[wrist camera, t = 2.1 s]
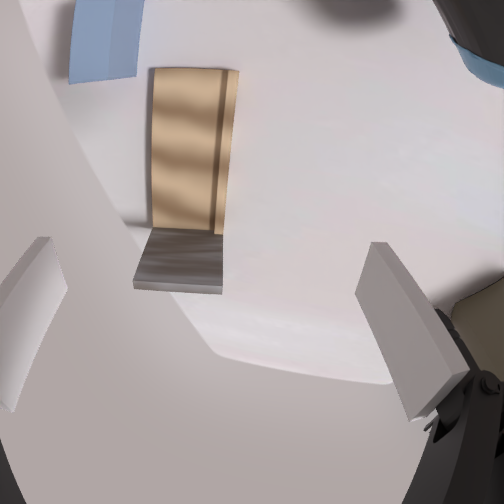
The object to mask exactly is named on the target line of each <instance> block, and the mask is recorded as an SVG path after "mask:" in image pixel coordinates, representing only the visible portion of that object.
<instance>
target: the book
mask: <svg viewBox="0 0 504 504" xmlns="http://www.w3.org/2000/svg"><path fill="white" fill-rule="evenodd" d="M451 322H452V324H453V325H454V327H455V330H457V332H458V333H459V335H460V336H461V337H460V338H461V339H462V340H463V341H464V343H465V345H466V346H467V348H468V350H469V351H470V353H471V355H472V356H473V358H474V360H475V362H476V363H477V365H478V367H479V369H480V370H481V371H482V370H486V371H490V372H492V373H493V374H495V375H496V376H497V378H498V379H499V380H500V381H504V277H503V278H502V279H501V280H499V281H498V282H496V283H494V284H493V285H491V286H489V287H487V288H485V289H484V290H482V291H480V292H478V293H476V294H474V295H472V296H470V297H468V298H465V299H463V300H461V301H459V302H457V303H456V304H455V306H454V309H453V311H452V316H451Z"/></svg>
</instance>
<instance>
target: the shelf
mask: <svg viewBox="0 0 504 504" xmlns="http://www.w3.org/2000/svg"><path fill="white" fill-rule="evenodd" d="M238 77H239V71H232V70H217V69H195V68H155V75H154V90H153V110H152V149H151V174H152V213H153V229H152V231H151V234H150V236H149V239H148V241H147V244H146V246H145V249H144V251H143V254H142V257H141V259H140V262H139V265H138V267H137V270H136V273H135V276H134V278H133V286H134V289H142V290H156V291H169V292H185V293H202V294H221V295H222V288H223V229H224V217H225V205H226V194H227V182H228V172H229V161H230V151H231V141H232V131H233V122H234V113H235V103H236V95H237V86H238Z"/></svg>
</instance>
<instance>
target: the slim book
mask: <svg viewBox="0 0 504 504" xmlns="http://www.w3.org/2000/svg"><path fill="white" fill-rule="evenodd" d="M143 7H144V0H76V5H75V12H74V19H73V27H72V37H71V48H70V64H69V84H76V83H84V82H93V81H103V80H112V79H120V78H128V77H136V75H137V61H138V49H139V39H140V30H141V22H142V14H143Z"/></svg>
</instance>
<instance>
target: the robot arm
mask: <svg viewBox="0 0 504 504" xmlns="http://www.w3.org/2000/svg"><path fill="white" fill-rule="evenodd" d="M433 2H434V4H435V6H436V7H437V9H438V11H439V13H440V15H441V17H442V19H443V21H444V23H445V25H446V27H447V29H448V31H449V36H450V38H451V40H452V42H453V43H454V44H455V45H456V47H457V49H458V51H459V53H460V55H461V57H462V59H463V62H464V64H465V65H466V67H467V68H468V70H469V71H470V72H471V73H473V74H474V75H476V77H477V78H479V79H480V80H482V81H484V82H486V83H488V84H491V85H493V86H496V87H499V88H503V89H504V0H433ZM67 290H68V287H67V285H66V282H65V279H64V276H63V273H62V270H61V267H60V264H59V261H58V257H57V254H56V251H55V247H54V244H53V241H52V237H37V239H36V240H35V241H34V242H33V243H32V245H31V246H30V247H29V248H28V250H27V251H26V252H25V253H24V255H23V256H22V257H21V258H20V259H19V261H18V262H17V263H16V265H15V266H14V267H13V269H12V270H11V271H10V273H9V274H8V275H7V277H6V278H5V279H4V281H3V282H2V284H1V285H0V408H1V409H3V410H6V411H9V412H12V413H13V412H14V410H15V407H16V404H17V401H18V398H19V396H20V392H21V390H22V387H23V385H24V382H25V380H26V377H27V375H28V372H29V370H30V367H31V365H32V362H33V360H34V358H35V355H36V353H37V351H38V348H39V346H40V344H41V342H42V340H43V337H44V335H45V333H46V331H47V329H48V327H49V325H50V323H51V320H52V319H53V317H54V315H55V312H56V311H57V308H58V307H59V305H60V303H61V301H62V299H63V297H64V295H65V293H66V291H67ZM355 295H356V297H357V299H358V302H359V304H360V306H361V308H362V310H363V312H364V314H365V317H366V319H367V321H368V323H369V325H370V328H371V330H372V332H373V334H374V337H375V339H376V341H377V343H378V346H379V348H380V350H381V353H382V355H383V357H384V360H385V362H386V364H387V367H388V369H389V372H390V374H391V376H392V379H393V381H394V384H395V386H396V389H397V391H398V394H399V396H400V399H401V402H402V404H403V407H404V409H405V412H406V415H407V417H408V420H409V422H411V421H415V420H418V419H422V418H425V417H427V416H428V415H429V414H430V413H431V412H432V411H433V410H434V409H435V408H436V410H437V412H438V415H437V416H436V417H435V418H434V419H433V420H432V421H431V422H430V423H429V424H427V425H426V427H425V428H424V431H427V430H428V429H429V428H430V427H431V426H432V428H431V431H430V432H429V433H430V435H429V438H428V441H427V443H426V446H425V449H424V452H423V455H422V457H421V460H420V463H419V465H418V468H417V470H416V473H415V475H414V478H413V480H412V482H411V485H410V487H409V489H408V491H407V493H406V496H405V498H404V500H403V502H402V504H504V381H500V380H499V379H498V378H497V376H496V375H495V374H493V373H492V372H490V371H486V370H482V371H481V370H480V369H479V367H478V365H477V363H476V362H475V360H474V358H473V356H472V355H471V353H470V351H469V350H468V348H467V346H466V345H465V343H464V341H463V340H462V339H461V338H460V337H461V336H460V335H459V333H458V332H457V330H455V327H454V325H453V324H452V322H451V321H450V319H449V318H448V317H447V316H446V315H445V314H444V313H443V312H442V311H441V310H439V309H434V308H433V307H432V305H431V304H430V302H429V301H428V299H427V298H426V296H425V295H424V293H423V292H422V290H421V289H420V287H419V286H418V284H417V283H416V282H415V280H414V279H413V277H412V276H411V274H410V273H409V272H408V270H407V269H406V267H405V266H404V265H403V263H402V262H401V261H400V259H399V258H398V256H397V255H396V254H395V252H394V251H393V250H392V248H391V247H390V246H389V244H388V243H387V242H371V245H370V248H369V252H368V255H367V258H366V261H365V264H364V268H363V271H362V274H361V277H360V280H359V283H358V286H357V288H356V291H355ZM0 504H26V502H25V500H24V498H23V496H22V493H21V491H20V489H19V487H18V485H17V482H16V480H15V478H14V475H13V473H12V470H11V468H10V465H9V462H8V460H7V457H6V454H5V451H4V449H3V446H2V443H1V440H0Z"/></svg>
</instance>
